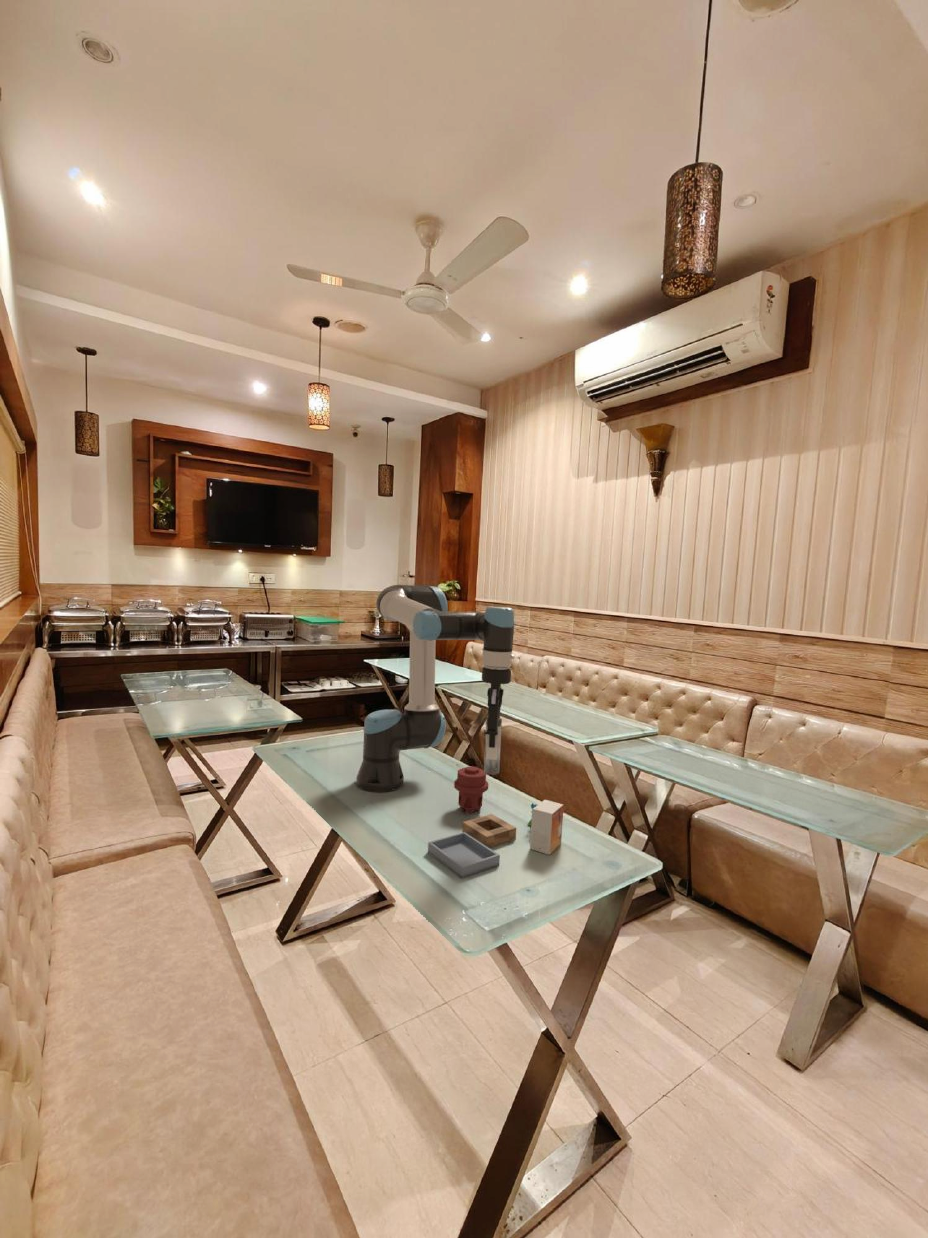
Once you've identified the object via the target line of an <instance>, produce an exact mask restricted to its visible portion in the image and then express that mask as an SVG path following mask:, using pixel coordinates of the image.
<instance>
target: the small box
mask: <svg viewBox="0 0 928 1238" xmlns="http://www.w3.org/2000/svg"><path fill="white" fill-rule="evenodd" d="M536 805H537V806H536V807H534V808H533V809H532V808H531V811H532V812H531V819H532V820H531V819H530V820H531V825H530V838H529V849H530V850H533V851H536V852H539V853H542V854H545V855H551V854H552V853H553V852H554V851H555V850H556V849H558V847H559V846H560V845H562V834H563V821H564V820H563V819H564V809H565V808H564V806H565V805H564V804H562V803H559V802H555V801H552V800H548V799H543V800H542V801H541V802H540V803H539V804H536Z"/></svg>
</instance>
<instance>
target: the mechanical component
mask: <svg viewBox="0 0 928 1238" xmlns="http://www.w3.org/2000/svg"><path fill="white" fill-rule="evenodd" d="M453 786H454V787H453V788H454V789H455V790H456V791H458V801H457V802H458V803H457V804H458V806H460V807H461V808H462V809H464V811H465V814H467V815H470V814H472V813H474V812H475V811H478V810H481V808H482V807H483V795H484V793H485V792H487V791H488V790H489V782H488V781H487V774H486V773H484V769H482V768H478V767H477V766H466V767H462V768H459V769H458V770H457V777H456V778H455V780H454V782H453Z"/></svg>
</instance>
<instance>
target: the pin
mask: <svg viewBox="0 0 928 1238" xmlns="http://www.w3.org/2000/svg"><path fill="white" fill-rule="evenodd" d="M485 721H486V723H485V732H487V725H488V717H486V720H485ZM502 723H503V719H502V718H501V717H500V718H498V745H497V760H491V759H486V749H487V734H485V737H484V755H483V756H484V758H483V759H484V760H483V770H484V773H486V775H493V776H494V775H498V774H499V773H500V760H501V746H502V745H501V742H502V729H501V727H502V728H503V724H502Z"/></svg>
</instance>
